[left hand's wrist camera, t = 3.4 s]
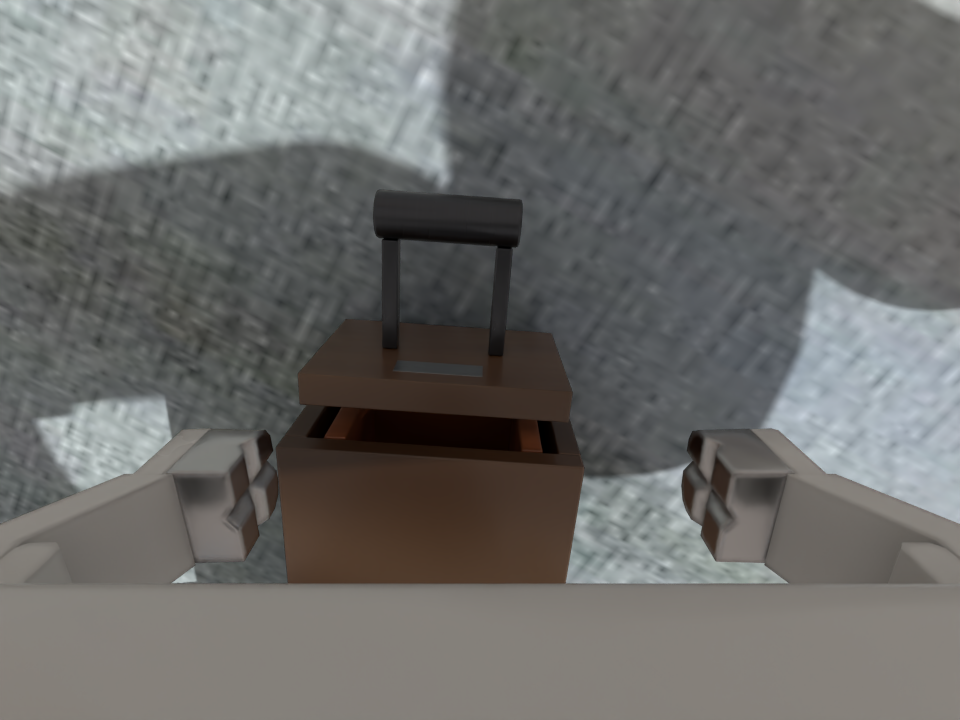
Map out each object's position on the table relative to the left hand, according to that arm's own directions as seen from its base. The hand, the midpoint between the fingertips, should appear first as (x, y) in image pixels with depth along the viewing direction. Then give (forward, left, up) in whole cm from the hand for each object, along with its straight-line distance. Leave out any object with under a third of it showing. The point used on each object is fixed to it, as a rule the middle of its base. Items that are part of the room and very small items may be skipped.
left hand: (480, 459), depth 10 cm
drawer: (+6, +5, -14) cm, 16 cm away
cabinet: (+10, +9, -15) cm, 20 cm away
